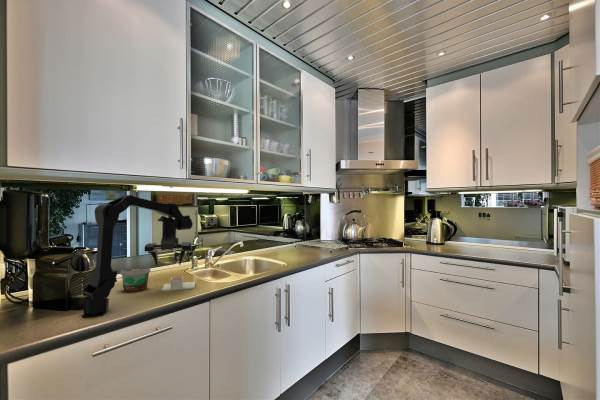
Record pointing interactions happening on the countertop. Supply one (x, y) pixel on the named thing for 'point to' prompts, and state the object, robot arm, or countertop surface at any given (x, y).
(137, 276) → the food container
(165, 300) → the countertop surface
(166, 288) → the sage mat
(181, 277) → the card deck
